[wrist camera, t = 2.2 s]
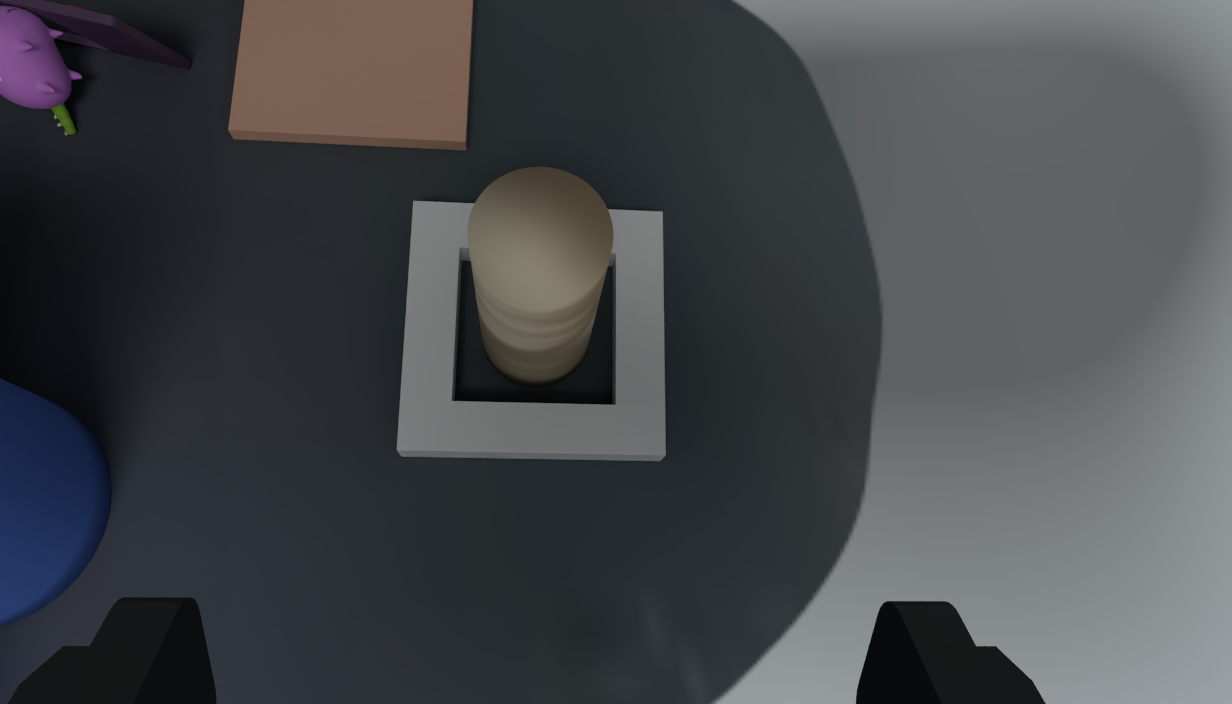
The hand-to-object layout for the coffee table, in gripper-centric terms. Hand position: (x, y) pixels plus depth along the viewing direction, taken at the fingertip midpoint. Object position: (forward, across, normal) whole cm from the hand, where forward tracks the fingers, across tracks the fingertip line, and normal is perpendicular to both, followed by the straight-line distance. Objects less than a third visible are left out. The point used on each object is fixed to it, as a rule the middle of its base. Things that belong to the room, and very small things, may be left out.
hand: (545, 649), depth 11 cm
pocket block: (+27, 0, +10) cm, 28 cm away
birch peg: (+27, 0, +10) cm, 28 cm away
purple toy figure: (+34, +20, +3) cm, 40 cm away
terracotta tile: (+36, +8, 0) cm, 37 cm away
